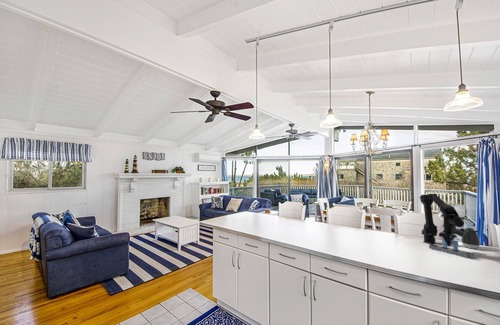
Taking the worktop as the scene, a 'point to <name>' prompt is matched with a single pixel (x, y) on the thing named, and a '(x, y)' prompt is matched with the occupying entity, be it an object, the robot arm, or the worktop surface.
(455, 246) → the blue notched pillar
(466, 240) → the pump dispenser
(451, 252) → the rail
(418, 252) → the worktop surface
